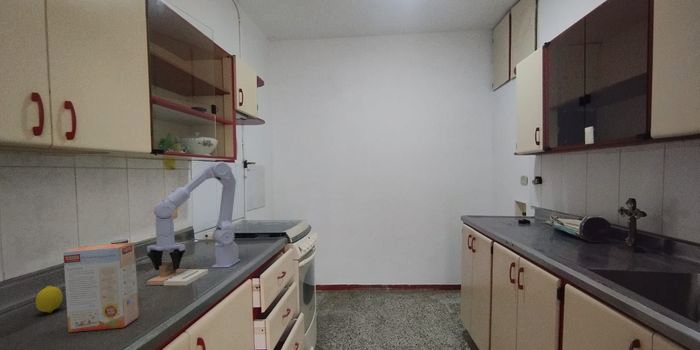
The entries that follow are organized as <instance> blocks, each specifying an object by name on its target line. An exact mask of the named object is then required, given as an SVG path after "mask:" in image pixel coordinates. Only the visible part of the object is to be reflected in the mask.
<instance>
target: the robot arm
mask: <svg viewBox="0 0 700 350" xmlns="http://www.w3.org/2000/svg"><path fill="white" fill-rule="evenodd" d="M233 173H234V172H233V171H232V167H231V166H230V165H229V164H228V163H227V162H224V161H217V162H212V163H210V164H209V166H207V167H204V168H203V169H202V170H201V171H199V172H198V173H197V174H196V175H195V176H194V177H193V178H192V179H191V180H189V182H188V183H187V184H185V185H184V186H183V187H181V186H180V187H177V188H173V189H172V190H171V193H170V194H168V196H166V197H165V198H164V197H163V198H162V199H161V201H162V202H159V203H157V204H156V205H155V206H154V209H153V211H152V212H153V214H154V215H155V238H156V239H155V240H156V244H151V245H147V246H146V248H147V249H146V250H147V251H146V252H147V253H146V256H147V257H148V258H149V259H150V260H151V262H152V265H153V267H154V270H155V271H159V266H161V265H163V263H162V262H163V253H164V251H169V252H168V254H169V256H170V259H171V262H172V264H173V270H177V269H180V266H181V261H182V258H183V256H184V254H185V252H186V244H184V243H183V244H182V243H181V244H180V243H176V241H175V239H176V238H175V228H174V227H175V225H174V217H173V215H174V214H175V211H176V210H177V209H178V208H180V206H182V205H183V204H185V202H187V201H188V200H189V199H190V197H191V192H193V191H195V189H197V187H199V186H200V185H201V184H203V183H204V182H205V181H206V180H209V179H216V180H217V181H218V182H219V183H220V184H221V185H222V188H221V196H220V197H221V199H220V207H219V208H220V209H219V215H218V221H217V223H216V225H215V229H214V230H213V232H212V238H213V240H214V241H215V243H214V251H215V253H214V255H215V264H213V265H211V268H230V267H231V266H233V265H235V264H237V263H238V262H240V261H241V259H240V258H239V247H238V244H237V243H236V242H235V241H234V240H235V237H236V236H235V232H234V225H233V223H232V222H233V211H234V203H235V195H236V194H235V193H236V185H237V179H236V178H235V176H234V174H233ZM170 251H171V252H170Z"/></svg>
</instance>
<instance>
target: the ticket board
mask: <svg viewBox="0 0 700 350" xmlns="http://www.w3.org/2000/svg"><path fill="white" fill-rule="evenodd" d="M208 274H209V269H207V268H205V269H201V268H200V269H199V268H198V269H195V268H194V269H187V270H186V271H184V272H182V273H179V274H177V275H175V276H173V277H171V278H169V279H167V280H165V281H164V285H163V286H188V285H189V284H191V283H193V282H195V281H197V280H198V279H200V278H203V277H204V276H205V275H208Z"/></svg>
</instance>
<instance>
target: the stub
mask: <svg viewBox="0 0 700 350" xmlns="http://www.w3.org/2000/svg"><path fill="white" fill-rule="evenodd" d="M186 270H188V269H187V268H179V269H177V270H173V264H172V261H169V262H166V263H164V264H162V265H161V266H159V270H158V271H159V275H157V276H154V277H152V278H151V279H148V280H147V281H146V282H147V286H162V285H163V286H165V285H164V281H165V280H167V279H169V278H171V277H173V276H175V275H177V274H179V273H182V272H184V271H186Z"/></svg>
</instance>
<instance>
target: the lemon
mask: <svg viewBox="0 0 700 350" xmlns="http://www.w3.org/2000/svg"><path fill="white" fill-rule="evenodd" d="M63 296H64V295H63V292H62V290H61V289H60V288H59V287H57V286H54V285H53V286H52V285H47V286H46V287H44V288H43V289H41V290H40V291H39V292H38V293H37V294H36V297H35V300H34V301H35V306H36V309H37V310H39V311H41V312H44V313H45V312H46V313H48V314H50V313H52V312H53V311H54V310H56V309H57V308H59V307H60V305H61V304H62V302H63Z"/></svg>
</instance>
